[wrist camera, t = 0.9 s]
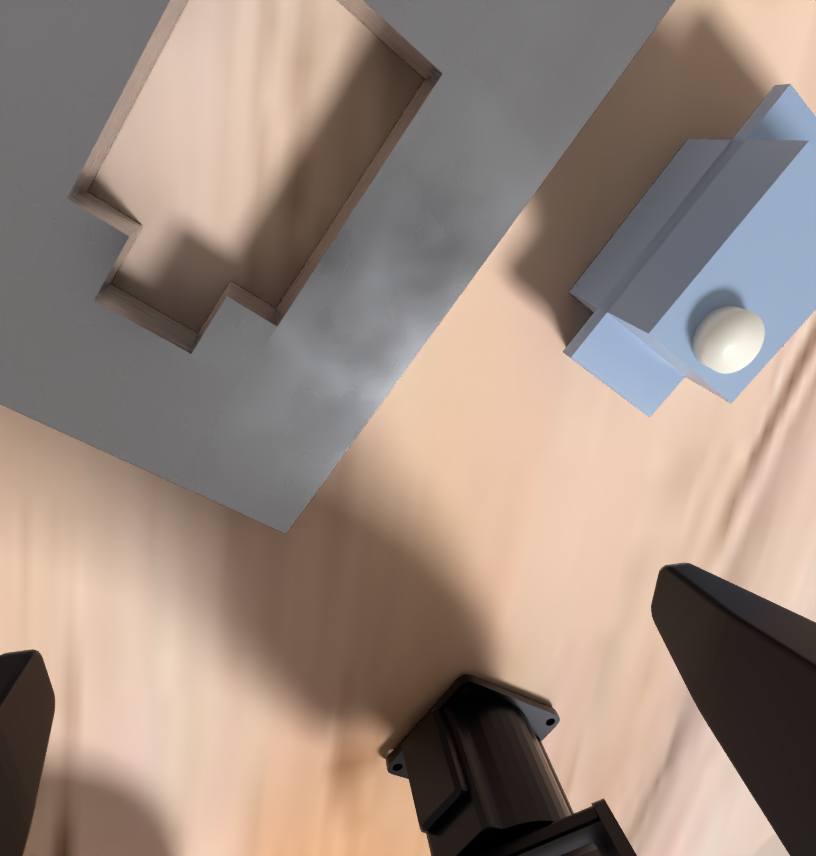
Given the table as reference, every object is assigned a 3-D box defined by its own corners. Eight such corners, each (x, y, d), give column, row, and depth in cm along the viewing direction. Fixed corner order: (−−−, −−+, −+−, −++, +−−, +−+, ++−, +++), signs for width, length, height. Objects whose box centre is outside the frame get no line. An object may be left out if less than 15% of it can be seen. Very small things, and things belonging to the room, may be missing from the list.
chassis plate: (210, -555, 12) (201, -673, 10) (654, -14, 18) (696, -30, 16) (-160, 290, 17) (-209, 309, 15) (284, 502, 23) (285, 533, 21)
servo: (792, 169, 21) (953, 181, 16) (610, 388, 23) (703, 457, 18) (726, 90, 20) (883, 75, 15) (536, 333, 22) (617, 392, 17)
